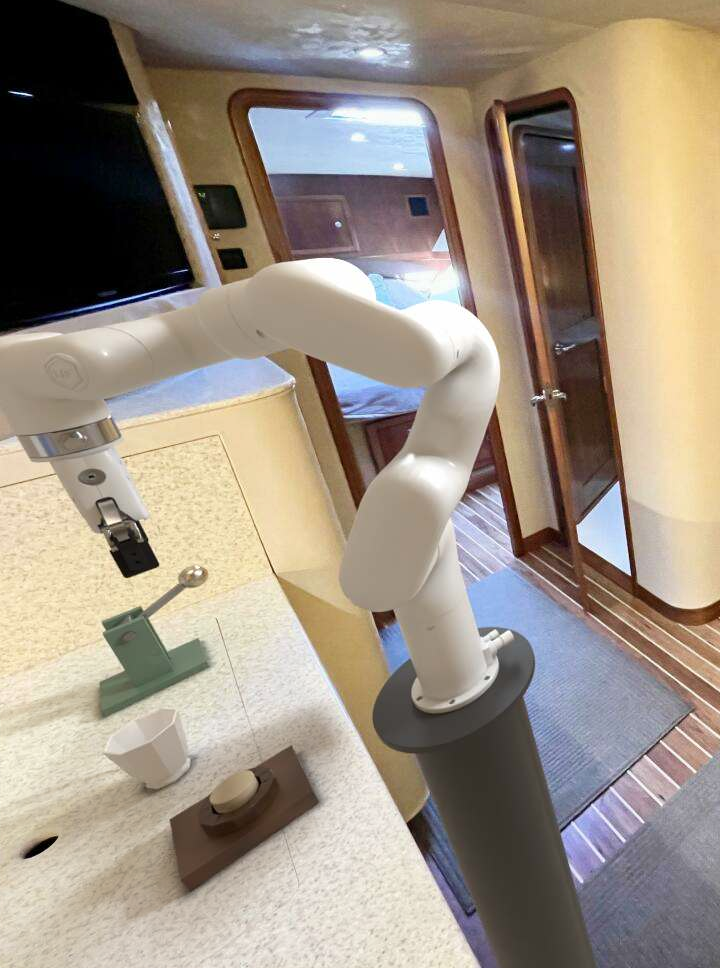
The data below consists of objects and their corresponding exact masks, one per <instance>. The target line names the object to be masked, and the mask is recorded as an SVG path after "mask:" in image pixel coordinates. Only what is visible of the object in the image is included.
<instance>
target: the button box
mask: <svg viewBox="0 0 720 968" xmlns="http://www.w3.org/2000/svg"><path fill="white" fill-rule="evenodd" d="M246 770H247V771H251V772H253V774H254V776H255V777H256V779H257V781H258V783H259V788H258V790H257V792H256V794H255V795H254V796H253V797H252V798H251V799H250V800H249V801H248V802H247V803H245V804H244V805H242V806H241V807H239V808H237V809H236V810H234V811H232V812H229V813H226V814H220V813H218V812H216V810H215V808H214V807H213V805H212V804H211V802H210V796H211V793H212V792H213V791H211V792H210V793H208V795H207V796H205V797H203V798H202V799H200V800H198V801H197V802H195V803H194V804H192V805H190V806H188V807H187V808H185V809H184V810H182V811H180V812H179V813H177V814H176V815H174V816H172V817H171V818H169V824H170V831H171V835H172V841H173V846H174V852H175V857H176V862H177V863H176V864H177V868H178V869H177V870H178V874H179V879H180V882H181V883H182V884H183V886H184V887H185V889H186V890H187V891H188V892H189V893H191V892H192V891H194V890H195V889H196V888H199V887H200V886H201V885H202V884H204V883H205V882H207V881H208V880H210V879H211V878H213V876H214V877H215V875H217V874H218V873H220V872H221V871H222V870H224V869H226V868H227V867H228V866H230V865H231V864H233V863H234V862H235V861H237V860H238V859H240V858H241V857H243V856H244V855H246V854H247V853H248V852H250V851H252V850H253V849H254V848H256V847H257V846H259V845H260V844H261V843H263V842H264V841H266V840H267V839H268V838H271V836H273V835H275V834H276V833H278V831H280V830H282V829H283V828H284V827H286V826H287V825H289V824H291V823H292V822H293V821H295V820H297V819H298V818H299V817H301V816H302V815H304V814H305V813H307V812H308V811H309V810H310V809H312V808H313V807H315V806H316V805H318V804H319V803H320V800H319V798H318V796H317V793H316V792H315V790H314V787H313V785H312V783H311V780H310V778H309V777H308V774H307V772H306V770H305V768H304V766H303V764H302V762H301V760H300V757H299V755H298V753H297V751H296V749H295V747H294V746H293V744H290V745H289V746H287V747H286V748H284V749H282V750H280V751H279V752H278V753H276V754H274V755H273V756H271V757H269V758H268V759H265V760H264V761H263V762H260V764H259V763H258V765H256V766H254V767H251V768H247V769H244V770H243V771H246Z"/></svg>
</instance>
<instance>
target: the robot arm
mask: <svg viewBox="0 0 720 968" xmlns="http://www.w3.org/2000/svg"><path fill="white" fill-rule="evenodd" d="M290 349H293V350H295V351H297V352H300V353H302V354H304V355H307V356H310V357H311V358H314V359H317V360H320V361H322V362H325V363H327V364H330V365H333V366H336V367H338V368H341V369H342V370H346V371H349V372H351V373H354V374H357V375H360V376H362V377H366V378H368V379H370V380H373V381H376V382H377V383H381V384H384V385H387V386H391V387H394V388H401V389H412V390H413V389H422V388H426V389H425V391H424V394H423V396H422V398H421V400H420V402H419V405H418V407H417V410H416V414H415V417H414V420H413V424H412V426H411V427H410V428H411V429H410V431H409V433H408V436H407V439H406V441H405V443H404V444H403V447H402V448H401V449H400V451H399V452H398V453H397V454H396V455H395V456H394V457H393V459H392V460H391V461H390V462H388V464H387V465H386V466H385V467H383V469H382V470H381V471H379V473H378V474H377V475H376V476H375V477H374V478H373V480H372V481H371V482H370V484H369V485H368V486H367V488H366V491H365V492H364V494H363V496H362V498H361V500H360V503H359V505H358V509H357V511H356V514H355V518H354V520H353V523H352V527H351V530H350V533H349V535H348V538H347V541H346V545H345V548H344V551H343V553H342V557H341V560H340V562H339V568H338V582H339V586H340V589H341V591H342V593H343V595H344V596H345V597H346V599H347V600H348V601H349V602H350V603H351V604H353V605H354V606H355V607H357V608H358V609H361V610H363V611H367V612H372V613H382V612H389V611H392V610H393V613H394V617H395V619H396V621H397V625H398V627H399V630H400V632H401V635H402V638H403V641H404V644H405V647H406V649H407V652H408V655H409V659H410V658H411V660H412V663H413V666H414V669H415V671H416V674H417V678H416V679H415V681H414V683H413V686H412V690H411V696H412V699H413V702H414V704H415V706H416V707H417V708H418V709H420V710H421V711H424V712H426V713H433V714H436V713H445V712H450V711H453V710H456V709H459V708H461V707H463V706H465V705H467V704H469V703H471V702H472V701H474V700H476V699H477V698H478V697H479V696H481V695H482V694H483V693H484V692H485V691H486V690H487V689H488V688H489V687H490V686H491V684H492V683H493V682H494V680H495V678H496V676H497V674H498V671H499V662H498V658H497V656H496V654H497V650H499V649H500V648H502V647H503V646H506V645H507V644H509V643H510V642H512V641H513V640H514V636H513V634H512V633H511V631H509V630H508V631H506V632H505V633H503V634H502V635H500V636H499V634H498V632H497V630H493V631H492V632H490V633H489V634H488V635H486V636H485V637H480V635H479V632H478V629H477V628H478V626H477V622H476V618H475V615H474V612H473V609H472V606H471V602H470V599H469V595H468V591H467V587H466V584H465V580H464V576H463V573H462V569H461V565H460V559H459V555H458V554H459V553H458V546H457V537H456V532H455V526H454V524H453V521H452V518H451V516H452V515H453V513H454V511H455V510H456V508H457V506H458V505H459V503H460V501H461V499H463V496H464V494H465V492H466V490H467V487H468V485H469V482H470V479H471V475H472V472H473V468H474V465H475V462H476V460H477V457H478V455H479V452H480V449H481V446H482V444H483V441H484V438H485V435H486V431H487V428H488V425H489V422H490V420H491V417H492V415H493V411H494V408H495V406H496V402H497V398H498V394H499V390H500V389H499V388H500V382H501V362H500V356H499V352H498V349H497V346H496V343H495V341H494V339H493V337H492V335H491V333H490V332H489V330H488V329H487V328H486V326H485V325H484V324H483V323H482V322H481V320H480V319H479V318H478V317H477V316H475V315H474V314H473V313H472V312H471V311H469V310H468V309H466V308H465V307H463V306H461V305H460V304H458V303H454V302H451V301H447V300H429V301H424V302H421V303H418V304H415V305H411V306H409V307H406V308H404V309H402V310H400V309H397V308H394V307H392V306H389V305H388V304H385V303H384V302H380V301H377V293H376V289H375V286H374V285H373V282H372V281H371V279H370V278H369V277H368V276H367V275H366V273H364V272H363V271H362V270H361V269H360V268H358V267H357V266H355V265H353V264H352V263H350V262H347V261H346V260H345V261H344V260H341V259H337V258H332V257H321V258H319V257H318V258H309V259H300V260H292V261H291V260H290V261H282V262H277V263H273V264H270V265H267V266H265V267H263V268H261V269H260V270H259V271H256V272H255V274H254V275H253V276H252V277H248V278H244V279H241V280H237V281H233V282H230V283H226V284H222V285H219V286H215V287H211V288H208V289H206V290H204V291H202V293H201V294H200V295H199V297H198V299H197V302H196V303H194V304H191V305H187V306H185V307H181V308H177V309H174V310H170V311H167V312H163V313H159V314H156V315H152V316H147V317H144V318H140V319H135V320H130V321H122V322H118V323H113V324H108V325H102V326H96V327H93V328H88V329H82V330H79V331H78V330H77V331H72V332H67V333H61V332H55V331H45V332H43V331H41V332H29V333H21V334H11V335H5V336H0V411H1V412H2V414H3V415H4V417H5V419H6V421H7V422H8V424H9V425H10V427H11V429H12V431H13V433H14V434H15V436H16V438H17V440H18V441H19V443H20V445H21V447H22V448H23V451H24V452H25V453H26V455H27V457H28V459H29V460H30V462H32V463H49V464H50V466H51V467H52V469H53V471H54V473H55V475H56V476H57V478H58V480H59V481H60V483H61V485H62V487H63V489H64V490H65V492H66V493H67V495H68V497H69V499H70V500H71V501H72V503H73V504H74V506H75V508H76V509H77V511H78V512H79V514H80V515H81V517H82V518H83V519H84V520H85V522H86V523H87V525H88V526H89V528H90V529H91V531H92V532H93V534H99V535H103V536H104V538H105V540H106V542H107V544H108V546H109V548H110V550H109V553H110V555H111V557H112V560H114V562H115V565H116V567H117V568H118V570H119V571H120V573H121V575H122V577H123V578H125V579H130V578H132V577H135V576H138V575H141V574H143V573H146V572H149V571H152V570H154V569H157V568H159V567H160V561H159V560H158V558H157V556H156V554H155V552H154V550H153V548H152V546H151V545H150V542H149V541H150V539H149V537H148V535H147V534H146V531H145V530H144V528H143V526H142V523H141V522H140V521H141V520H143V521H147V520H149V518H150V517H151V516H150V513H149V510H148V509H147V506H146V503H145V501H144V499H143V498H142V495H141V493H140V491H139V489H138V488H137V485H136V483H135V482H134V481H135V480H134V479H133V478H132V476H131V474H130V472H129V470H128V467H127V466H126V464H125V462H124V460H123V458H122V457H121V455H120V453H119V452H118V450H117V449H116V447H115V446H117V445H119V444H121V443H122V442H123V441H124V440H125V439H124V436H123V435H122V433H121V431H120V429H119V427H118V425H117V423H116V421H115V419H114V417H113V415H112V413H111V411H110V409H109V407H108V405H107V403H106V401H105V400H106V399H111V398H114V397H119V396H121V395H125V394H127V393H131V392H133V391H136V390H139V389H141V388H144V387H147V386H150V385H153V384H157V383H160V382H162V381H166V380H169V379H173V378H175V377H179V376H182V375H184V374H187V373H188V374H189V373H191V372H193V371H194V372H195V371H197V370H200V369H204V368H206V367H210V366H213V365H217V364H220V363H223V362H227V361H230V360H234V359H241V360H246V361H247V360H248V361H249V360H250V361H251V360H257V359H260V358H263V357H266V356H269V355H273V354H275V353H279V352H282V351H287V350H290ZM497 637H498V638H497ZM494 639H495V640H494Z"/></svg>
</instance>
